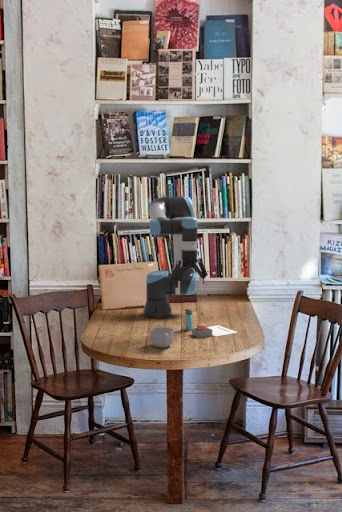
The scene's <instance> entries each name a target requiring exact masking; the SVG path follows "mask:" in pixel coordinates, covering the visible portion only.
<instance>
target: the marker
mask: <svg viewBox="0 0 342 512" xmlns="http://www.w3.org/2000/svg"><path fill="white" fill-rule="evenodd" d="M184 310H185V311H184V315H185V316H184V317H185V323H184V325H185V328H184V329H185V331H192V328H193V309H191V308H186V309H184Z"/></svg>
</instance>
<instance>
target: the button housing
mask: <svg viewBox="0 0 342 512" xmlns="http://www.w3.org/2000/svg"><path fill="white" fill-rule="evenodd" d="M191 335H192V336H195V337H197V338H199V339H203V338H207V337H212V336H213V335H212V329H209V328H207V330H205V331H199V330H197V327H192V330H191Z"/></svg>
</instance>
